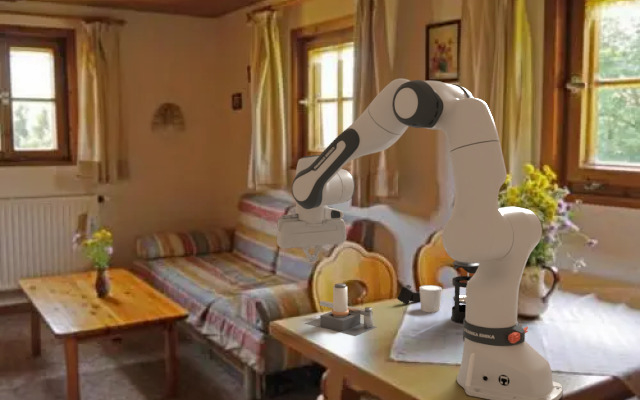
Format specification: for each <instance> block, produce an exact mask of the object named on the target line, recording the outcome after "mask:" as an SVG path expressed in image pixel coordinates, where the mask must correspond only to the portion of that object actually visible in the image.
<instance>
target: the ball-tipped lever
mask: <svg viewBox="0 0 640 400" xmlns="http://www.w3.org/2000/svg"><path fill="white" fill-rule="evenodd" d="M319 306H321V307H326V308H331V309H333V302H332V301H327V300H320V301H319ZM348 309H349V312H352V313H357V314H360V316H361V315H362V316H364V315H366V316H372V315H373V307H369V306H368V307H364V309H363V308H359V307H354V306H349V305H348Z"/></svg>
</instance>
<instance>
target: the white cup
mask: <svg viewBox="0 0 640 400" xmlns="http://www.w3.org/2000/svg"><path fill="white" fill-rule="evenodd" d="M419 293H420V302H419V303H420V310H421V311H422V312H426V313H437V312H439V311H440V309H441V301H442V294H443V287H441V286H439V285H435V284H434V285H433V284H432V285H431V284H428V285H427V284H424V285H421V286H419Z"/></svg>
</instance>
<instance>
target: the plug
mask: <svg viewBox="0 0 640 400" xmlns="http://www.w3.org/2000/svg"><path fill="white" fill-rule="evenodd" d="M348 290H349V289H348V285H347V284H346V283H341V282H340V283H339V282H338V283H335V284H334V285H333V286H332V295H333V296H332V298H333V300H332V301H333V302H332V303H333V308H331V311H332V315H333V316H334V317H338V318H344V317H347V316H348V315H349V309H348V306H349V305H348V303H349V301H348V296H349V295H348Z"/></svg>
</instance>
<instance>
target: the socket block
mask: <svg viewBox="0 0 640 400" xmlns="http://www.w3.org/2000/svg"><path fill="white" fill-rule="evenodd" d="M373 320H374V318H373V314H372V316H366V315H363V323H362V322H361V314H357V313H352V312H349V315H348V316H347V317H344V318H338V317H334V316H333V315H332V310H331V311H329V312H326V313H323V314H321V315H320V317H318V318H316V319H313V320H310V321H307V322H304V324H306V325H309V326H312V327H316V328H321V329H325V330H329V331H334V332H337V333H342V334H345V335H349V336H354V337H356V336H359V335H362V334H364V333H366V332H368V331H371V330H373V329H374V330H375V329H376V328H377V326H376V325H375V326H373V324H374V323H373Z"/></svg>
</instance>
